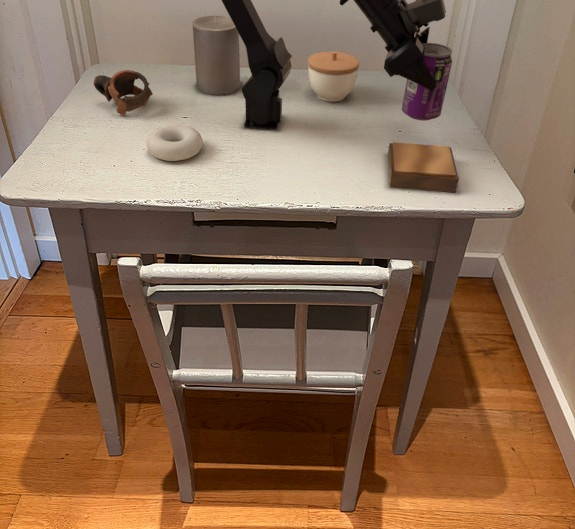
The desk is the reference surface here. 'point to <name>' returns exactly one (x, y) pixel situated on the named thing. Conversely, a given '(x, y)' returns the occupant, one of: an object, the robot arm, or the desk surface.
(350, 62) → the trinket box
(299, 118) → the desk surface
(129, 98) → the pottery mug
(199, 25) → the pillar candle
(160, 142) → the donut
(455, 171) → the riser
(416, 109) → the beverage can
